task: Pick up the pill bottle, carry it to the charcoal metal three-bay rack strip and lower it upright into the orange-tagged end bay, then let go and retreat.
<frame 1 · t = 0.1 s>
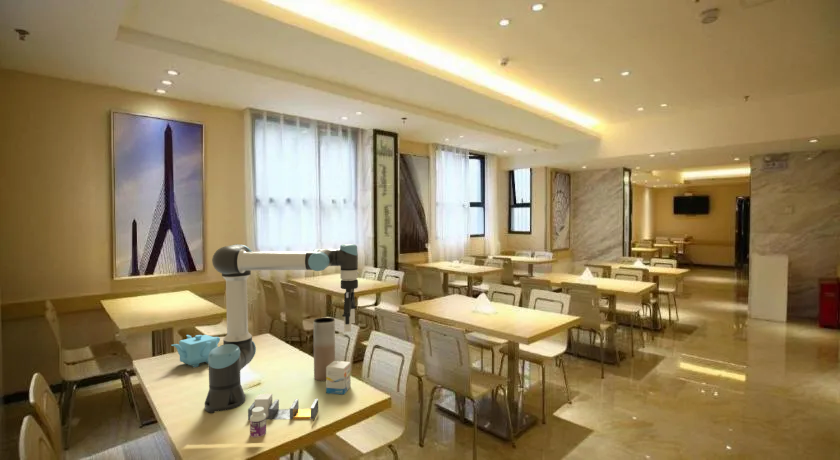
hand: (349, 327, 186), 28 cm above the table, fingers open, 13 cm apart
rack: (284, 416, 162), on the table
teakettle: (197, 363, 221), on the table
vase: (324, 377, 201), on the table
pill bottle: (258, 436, 148), on the table
ink box: (338, 390, 186), on the table
filler block: (263, 414, 161), point 1 cm above the table, touching rack
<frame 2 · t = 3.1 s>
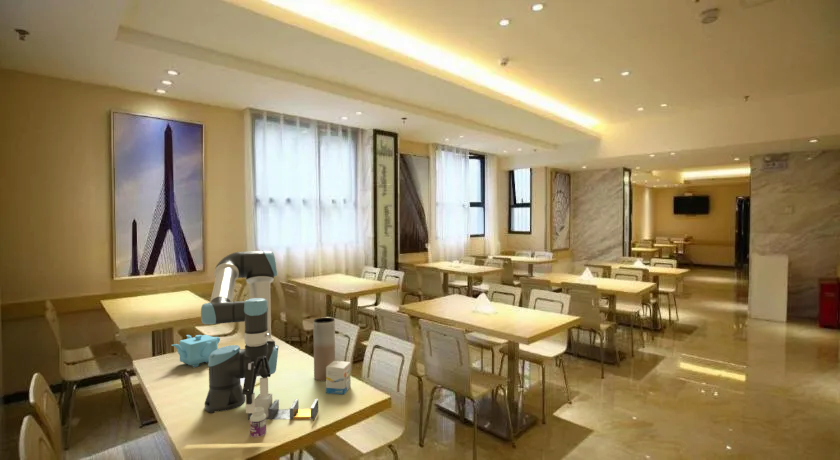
hand: (257, 403, 147), 12 cm above the table, fingers open, 13 cm apart
nothing on the table moved.
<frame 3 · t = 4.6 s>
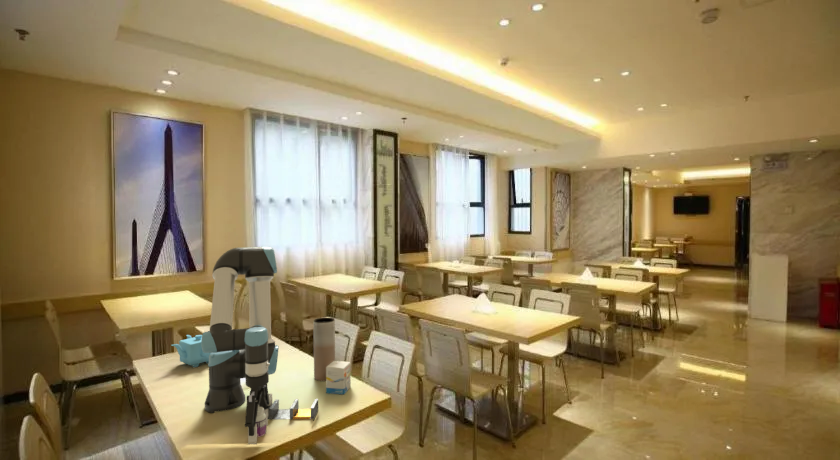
hand: (258, 435, 148), 0 cm above the table, fingers open, 10 cm apart
nothing on the table moved.
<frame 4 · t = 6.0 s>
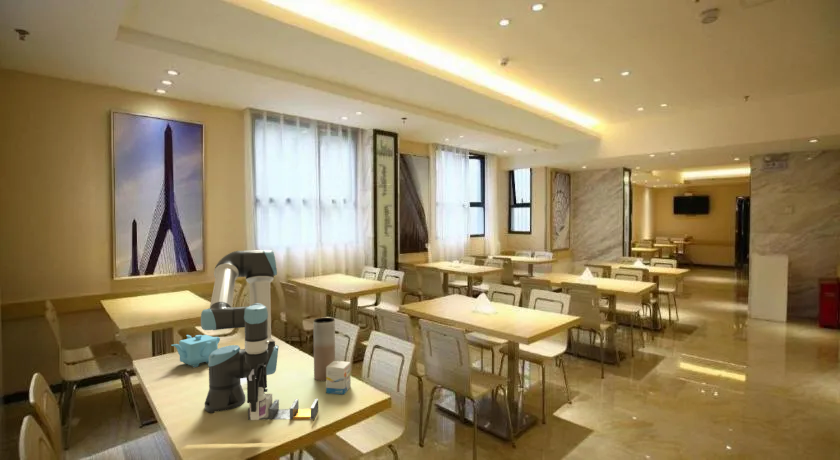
hand: (257, 414, 148), 7 cm above the table, fingers closed on pill bottle, 5 cm apart
pill bottle: (258, 416, 148), point 7 cm above the table, touching gripper
everything else where it was.
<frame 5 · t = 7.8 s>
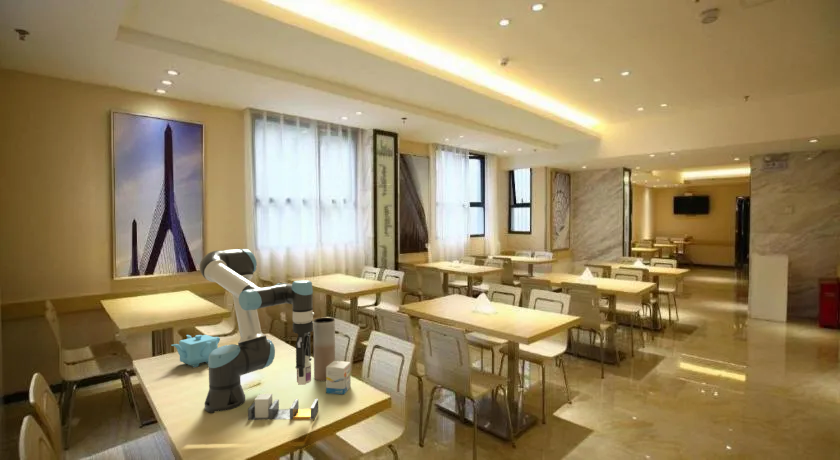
hand: (304, 381, 161), 14 cm above the table, fingers closed on pill bottle, 5 cm apart
pill bottle: (304, 382, 161), point 13 cm above the table, touching gripper
everything else where it was.
when the fingers open (2 cm above the table, at t = 9.9 s): pill bottle stays where it is, resting on rack.
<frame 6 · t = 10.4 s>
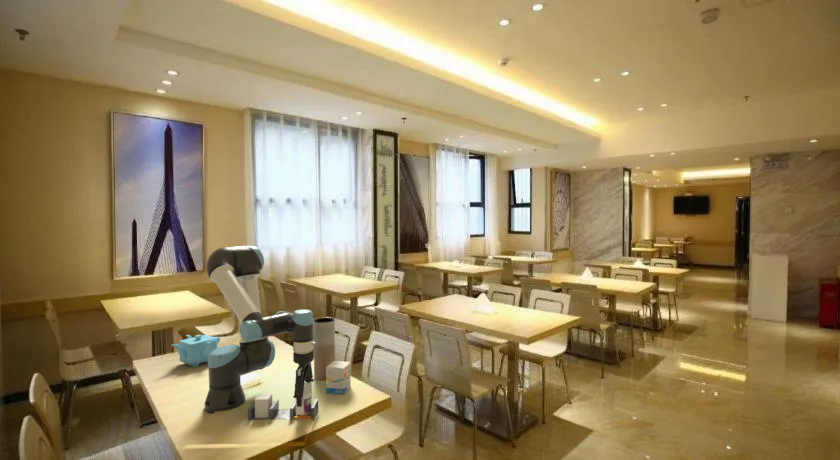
hand: (304, 406, 162), 4 cm above the table, fingers open, 12 cm apart
pill bottle: (304, 413, 162), point 1 cm above the table, touching rack
everything else where it was.
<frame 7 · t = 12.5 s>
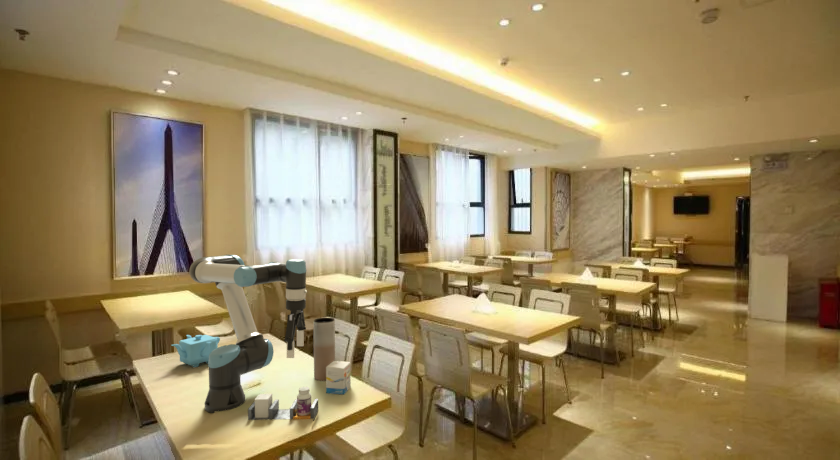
hand: (295, 351, 167), 23 cm above the table, fingers open, 13 cm apart
nothing on the table moved.
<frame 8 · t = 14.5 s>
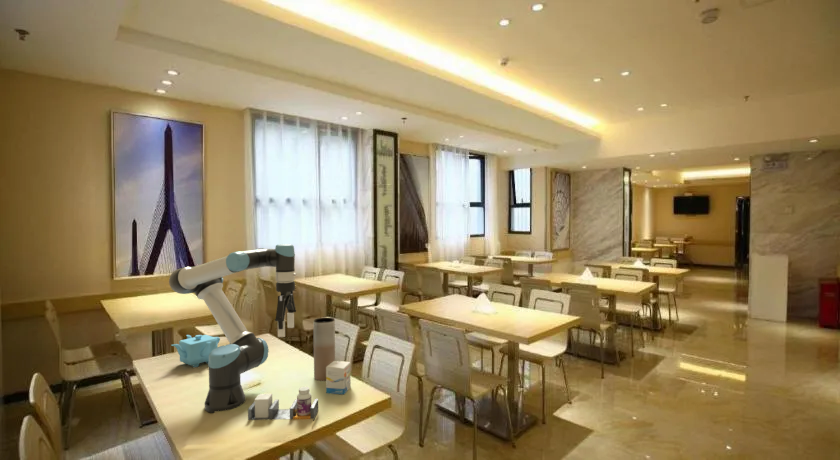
hand: (286, 332, 176), 29 cm above the table, fingers open, 13 cm apart
nothing on the table moved.
at the end: pill bottle 0.1 cm from the target spot on the rack, point 1.0 cm above the rack's base; pill bottle tilted 0°; the gripper is holding nothing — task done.
